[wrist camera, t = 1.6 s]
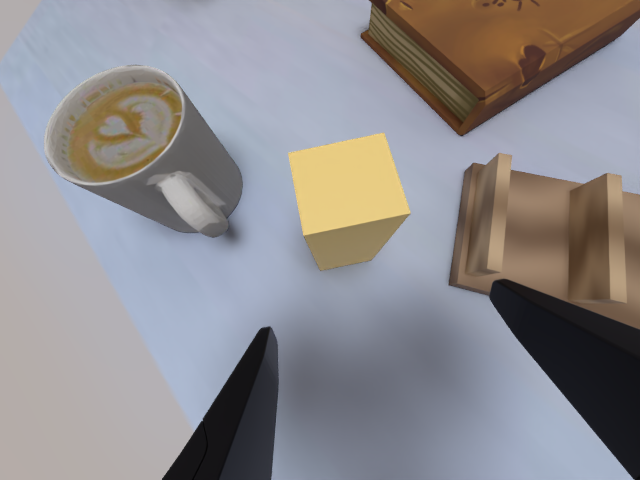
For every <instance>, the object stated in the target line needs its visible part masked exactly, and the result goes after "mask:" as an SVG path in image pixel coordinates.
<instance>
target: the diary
mask: <svg viewBox="0 0 640 480" xmlns="http://www.w3.org/2000/svg"><path fill="white" fill-rule="evenodd" d="M369 1H371V2H372V7H371V15H370V23H369V30H367V31H365V32H363V33H361V38H362V39H363V40H364V41H365V42H366V43H367V44H368V45H369V46H370V47H371V48H372V49H373V50H374V51H375V52H376V53H377V54H378V55H379V56H380V57H381V58H382V59H383V60H384V61H385V62H386V63H387V64H388V65H389V66H390V67H391V68H392V69H393V70H394V71H395V72H396V73H397V74H398V75H399V76H400V77H401V78H402V79H403V80H404V81H405V82H406V83H407V84H408V85H409V86H410V87H411V88H412V89H413V90H414V91H415V92H416V93H417V94H418V95H419V96H420V97H421V98H422V99H423V100H424V101H425V102H426V103H427V104H428V105H429V106H430V107H431V108H432V109H433V110H434V111H435V112H436V113H437V114H438V115H439V116H440V117H441V118H442V119H443V120H444V121H445V122H446V123H447V124H448V125H449V126H450V127H451V128H452V129H453V130H454V131H455V132H456V133H457V134H458V135H464V134H465V133H467V132H469V131H470V130H472V129H473V128H475V127H477V126H478V125H480V124H481V123H483V122H485V121H486V120H488V119H489V118H491V117H492V116H494V115H496V114H497V113H499V112H500V111H502V110H504V109H505V108H507V107H508V106H510V105H512V104H513V103H515V102H516V101H518V100H519V99H521V98H523V97H524V96H526V95H527V94H529V93H531V92H532V91H534V90H535V89H537V88H539V87H540V86H542V85H543V84H545V83H546V82H548V81H550V80H551V79H553V78H554V77H556V76H558V75H559V74H561V73H562V72H564V71H566V70H567V69H569V68H570V67H572V66H574V65H575V64H577V63H578V62H580V61H581V60H583V59H585V58H586V57H588V56H589V55H591V54H593V53H594V52H596V51H597V50H599V49H601V48H602V47H604V46H605V45H607V44H608V43H610V42H612V41H613V40H615V39H616V38H618V37H620V36H621V35H622V34H623V33H624V32H625V31H626V30H627V29H628V28H629V27H630V26H632V25H633V24H634V23H635V22H636V21H637V20H638V19H639V18H640V0H369Z"/></svg>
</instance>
